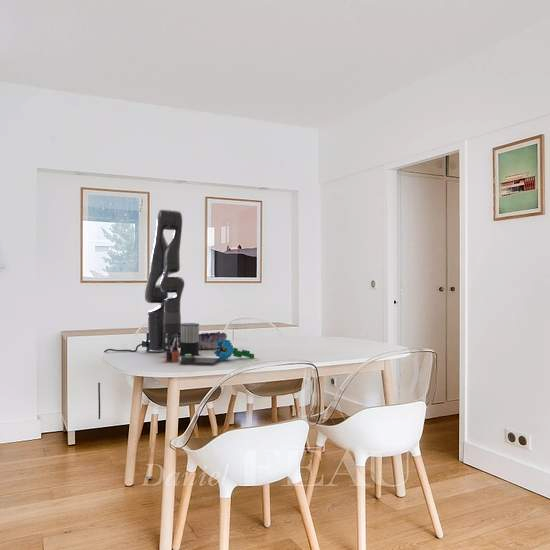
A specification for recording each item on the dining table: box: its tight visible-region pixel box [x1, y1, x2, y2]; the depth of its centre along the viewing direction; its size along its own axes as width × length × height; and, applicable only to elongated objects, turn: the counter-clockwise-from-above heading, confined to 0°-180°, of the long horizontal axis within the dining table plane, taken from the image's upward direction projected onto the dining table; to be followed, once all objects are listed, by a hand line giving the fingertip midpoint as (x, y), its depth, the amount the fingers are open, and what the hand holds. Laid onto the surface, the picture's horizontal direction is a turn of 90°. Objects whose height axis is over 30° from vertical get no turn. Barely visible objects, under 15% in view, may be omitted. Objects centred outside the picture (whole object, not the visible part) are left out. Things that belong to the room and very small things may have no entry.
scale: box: [180, 355, 221, 367], centre depth 232 cm, size 14×12×3 cm
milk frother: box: [163, 322, 200, 357], centre depth 254 cm, size 14×16×15 cm
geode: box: [199, 331, 228, 350], centre depth 278 cm, size 20×12×10 cm, turn 116°
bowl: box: [164, 349, 180, 363], centre depth 236 cm, size 6×6×4 cm
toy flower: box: [213, 339, 255, 361], centre depth 242 cm, size 9×9×18 cm
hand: (172, 359), depth 236 cm, fingers closed on bowl, 6 cm apart
